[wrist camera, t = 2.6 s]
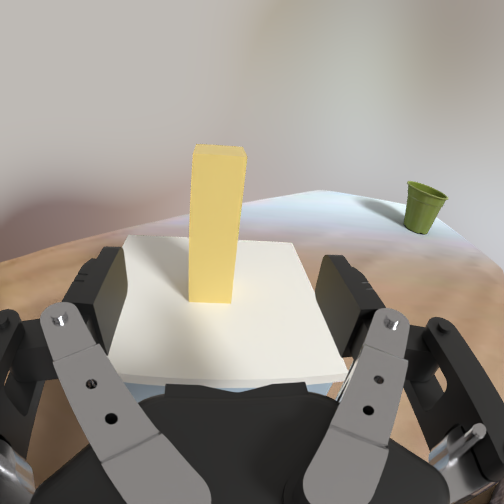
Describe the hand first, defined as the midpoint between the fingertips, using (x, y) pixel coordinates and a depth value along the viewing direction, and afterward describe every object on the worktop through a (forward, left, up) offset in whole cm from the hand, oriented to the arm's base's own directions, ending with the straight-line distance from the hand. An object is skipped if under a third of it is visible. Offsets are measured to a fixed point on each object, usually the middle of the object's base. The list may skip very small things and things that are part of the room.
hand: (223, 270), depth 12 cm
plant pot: (+53, +50, -19) cm, 75 cm away
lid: (0, +11, -11) cm, 15 cm away
